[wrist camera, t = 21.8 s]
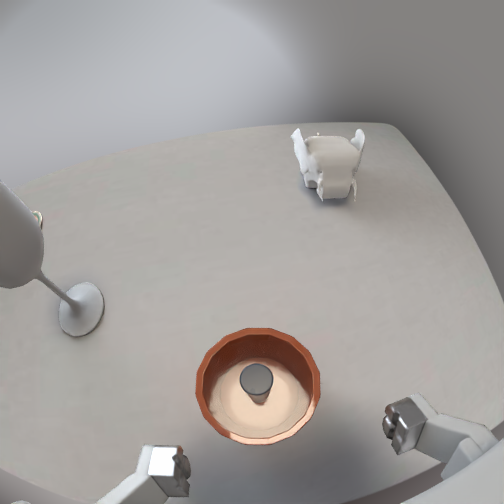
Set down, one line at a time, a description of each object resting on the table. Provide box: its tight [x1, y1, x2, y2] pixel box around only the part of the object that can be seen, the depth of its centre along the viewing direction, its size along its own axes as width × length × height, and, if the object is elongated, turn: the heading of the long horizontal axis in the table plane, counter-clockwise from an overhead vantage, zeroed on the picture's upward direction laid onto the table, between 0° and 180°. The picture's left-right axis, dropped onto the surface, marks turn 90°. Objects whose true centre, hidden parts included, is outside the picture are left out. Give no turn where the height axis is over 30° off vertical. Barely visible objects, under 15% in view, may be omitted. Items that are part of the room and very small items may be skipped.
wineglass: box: [0, 180, 104, 337], centre depth 21 cm, size 8×8×21 cm
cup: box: [195, 328, 320, 445], centre depth 21 cm, size 8×8×9 cm
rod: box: [240, 364, 273, 403], centre depth 19 cm, size 2×2×12 cm
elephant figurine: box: [291, 129, 365, 203], centre depth 35 cm, size 10×12×9 cm
